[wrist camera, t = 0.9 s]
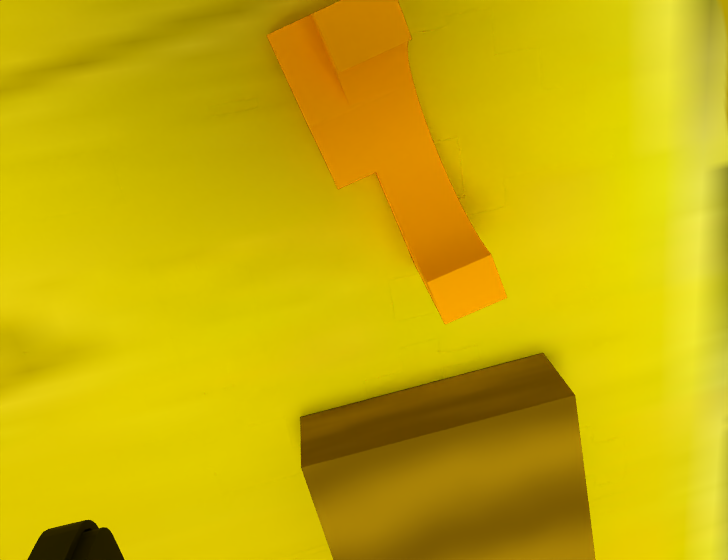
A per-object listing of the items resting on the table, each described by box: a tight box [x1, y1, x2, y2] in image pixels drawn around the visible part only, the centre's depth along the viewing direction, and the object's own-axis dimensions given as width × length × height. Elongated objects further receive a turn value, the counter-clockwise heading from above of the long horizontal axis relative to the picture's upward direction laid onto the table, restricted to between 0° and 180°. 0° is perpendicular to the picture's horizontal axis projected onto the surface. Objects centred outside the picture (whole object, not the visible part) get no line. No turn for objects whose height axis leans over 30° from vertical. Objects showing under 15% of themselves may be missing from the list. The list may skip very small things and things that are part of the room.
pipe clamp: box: [267, 0, 507, 324], centre depth 25 cm, size 12×4×6 cm, turn 23°
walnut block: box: [300, 353, 595, 560], centre depth 33 cm, size 13×13×4 cm
